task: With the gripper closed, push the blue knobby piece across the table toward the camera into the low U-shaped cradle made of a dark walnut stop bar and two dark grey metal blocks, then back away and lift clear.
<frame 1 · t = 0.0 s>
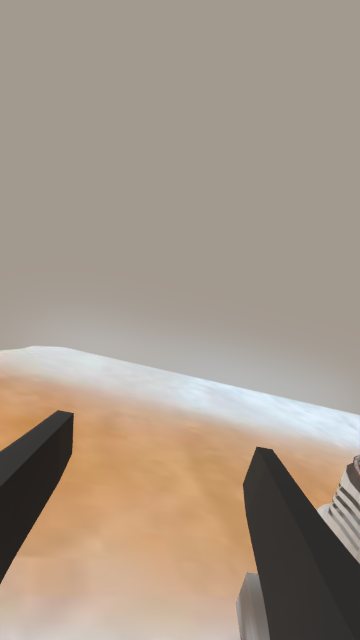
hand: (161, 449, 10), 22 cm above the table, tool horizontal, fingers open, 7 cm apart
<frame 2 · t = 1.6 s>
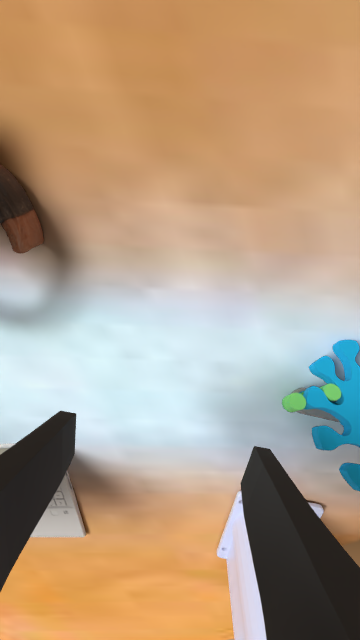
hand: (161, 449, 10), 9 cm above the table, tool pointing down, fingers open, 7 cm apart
blue knobby piece: (342, 377, 19), on the table
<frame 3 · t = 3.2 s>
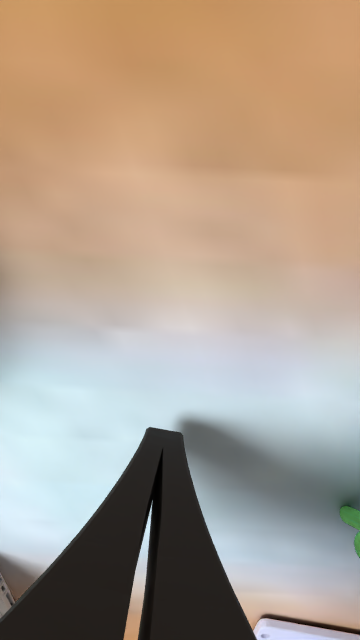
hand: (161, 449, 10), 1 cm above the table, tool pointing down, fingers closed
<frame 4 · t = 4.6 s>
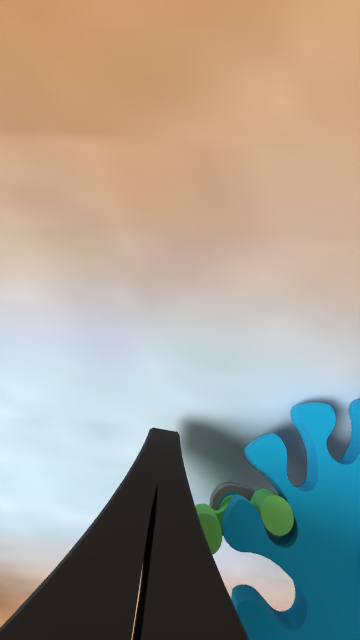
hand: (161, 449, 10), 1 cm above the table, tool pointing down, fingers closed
blue knobby piece: (309, 455, 11), on the table, touching gripper
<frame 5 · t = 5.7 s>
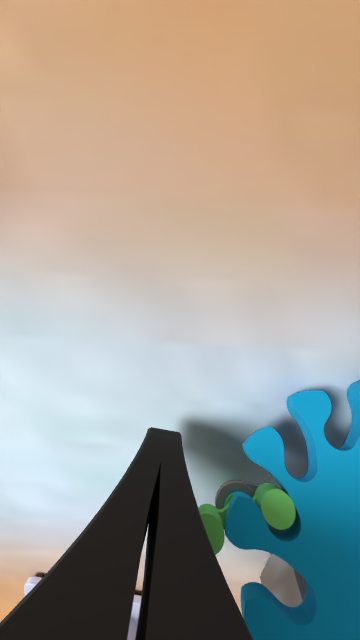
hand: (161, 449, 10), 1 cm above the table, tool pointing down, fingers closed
blue knobby piece: (315, 444, 11), on the table, touching gripper
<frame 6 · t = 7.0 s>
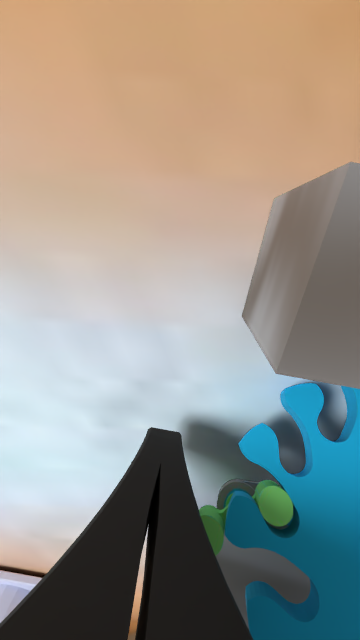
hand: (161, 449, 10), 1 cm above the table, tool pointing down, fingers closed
cradle: (331, 453, 11), on the table
blue knobby piece: (316, 437, 11), on the table, touching gripper
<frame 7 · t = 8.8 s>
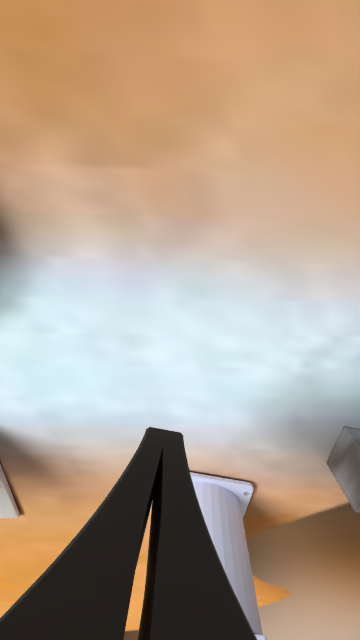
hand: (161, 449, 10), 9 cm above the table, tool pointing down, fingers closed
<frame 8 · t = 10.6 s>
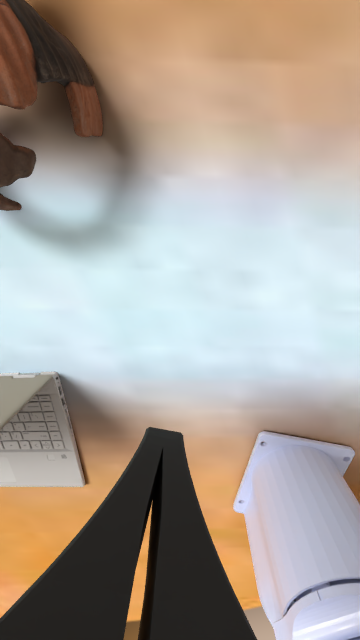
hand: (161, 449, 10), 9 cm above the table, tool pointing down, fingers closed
pottery mug: (19, 103, 14), on the table
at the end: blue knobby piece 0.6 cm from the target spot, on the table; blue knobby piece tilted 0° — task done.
